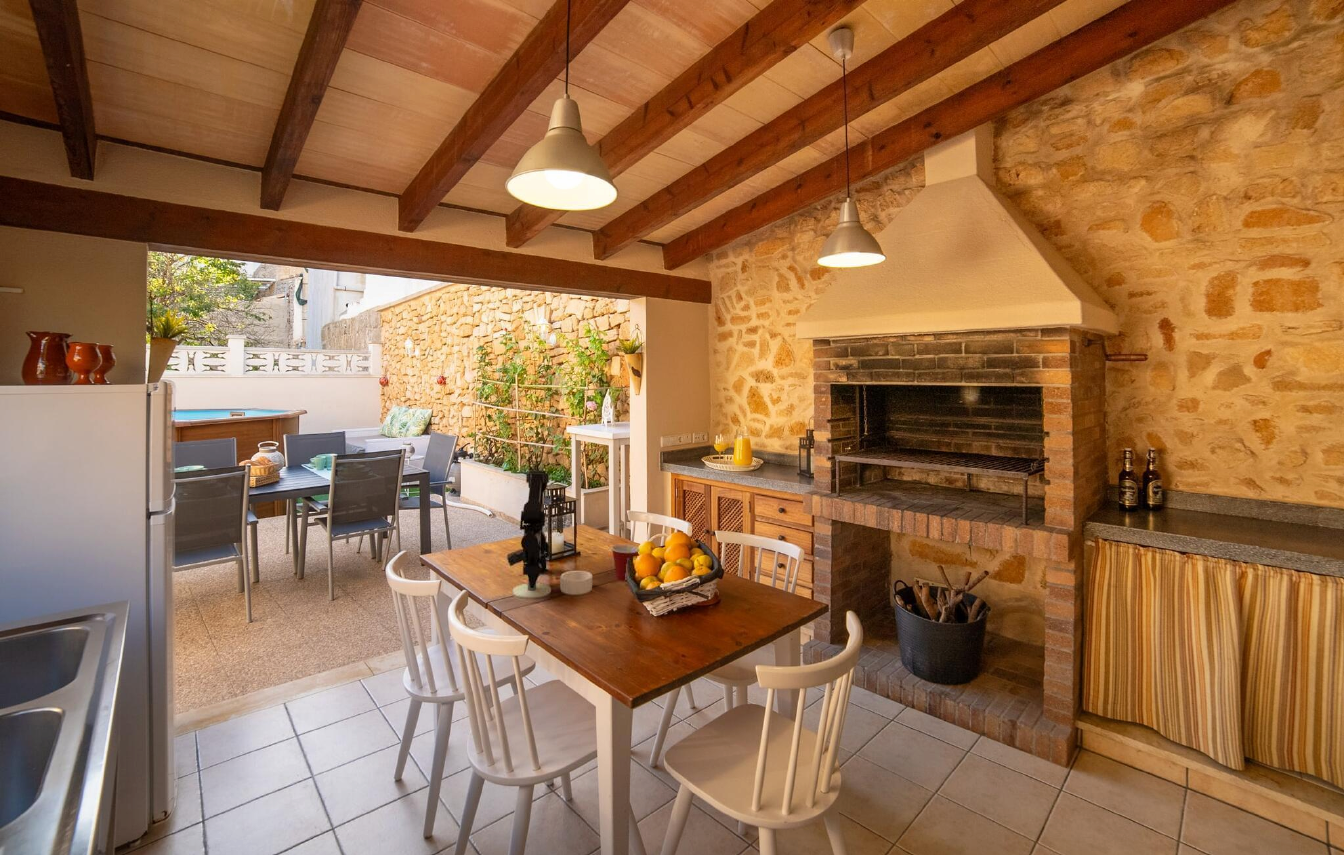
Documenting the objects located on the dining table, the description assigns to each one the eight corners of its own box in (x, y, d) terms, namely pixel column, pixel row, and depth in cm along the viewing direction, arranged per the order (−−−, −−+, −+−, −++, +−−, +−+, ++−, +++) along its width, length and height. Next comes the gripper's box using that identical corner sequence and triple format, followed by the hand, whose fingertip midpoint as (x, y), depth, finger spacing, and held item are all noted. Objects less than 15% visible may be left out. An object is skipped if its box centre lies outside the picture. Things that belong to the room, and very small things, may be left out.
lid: (504, 593, 208) (504, 581, 207) (531, 583, 219) (531, 571, 218) (532, 601, 201) (532, 588, 201) (558, 590, 212) (558, 578, 212)
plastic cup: (644, 579, 227) (645, 548, 226) (621, 585, 219) (622, 553, 218) (627, 571, 235) (628, 541, 234) (604, 577, 227) (605, 546, 226)
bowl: (554, 590, 212) (554, 576, 211) (574, 582, 221) (574, 568, 221) (578, 597, 206) (578, 583, 206) (597, 588, 215) (598, 574, 215)
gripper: (509, 536, 216) (509, 578, 217) (507, 551, 197) (507, 597, 199) (540, 535, 218) (540, 577, 219) (541, 550, 200) (541, 595, 201)
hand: (531, 586), depth 210 cm, fingers closed on lid, 3 cm apart
